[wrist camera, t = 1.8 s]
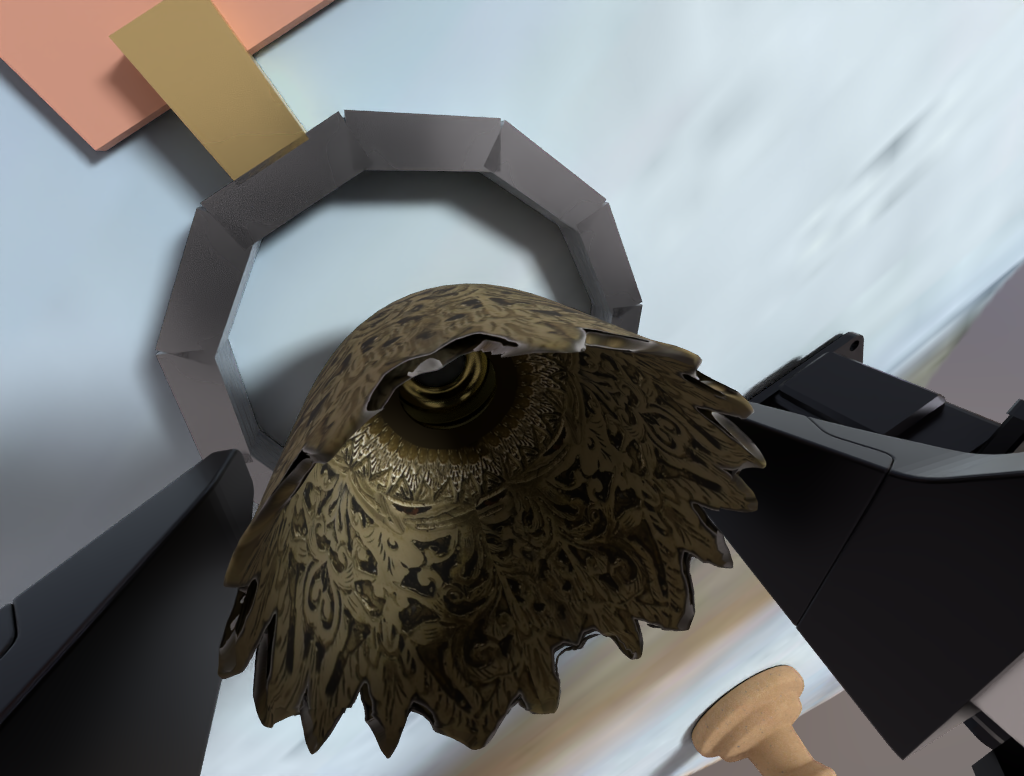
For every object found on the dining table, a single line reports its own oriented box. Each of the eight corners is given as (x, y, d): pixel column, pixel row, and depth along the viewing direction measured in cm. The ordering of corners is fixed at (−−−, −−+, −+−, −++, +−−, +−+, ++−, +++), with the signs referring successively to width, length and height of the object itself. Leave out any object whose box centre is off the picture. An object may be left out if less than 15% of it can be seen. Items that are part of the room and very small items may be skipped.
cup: (372, 496, 14) (397, 815, 7) (230, 292, 9) (-32, 595, 3) (571, 406, 15) (754, 607, 8) (519, 187, 11) (806, 234, 4)
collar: (669, 424, 17) (689, 440, 16) (429, 590, 17) (434, 617, 16) (454, -153, 7) (470, -201, 6) (-108, 214, 7) (-179, 223, 6)
